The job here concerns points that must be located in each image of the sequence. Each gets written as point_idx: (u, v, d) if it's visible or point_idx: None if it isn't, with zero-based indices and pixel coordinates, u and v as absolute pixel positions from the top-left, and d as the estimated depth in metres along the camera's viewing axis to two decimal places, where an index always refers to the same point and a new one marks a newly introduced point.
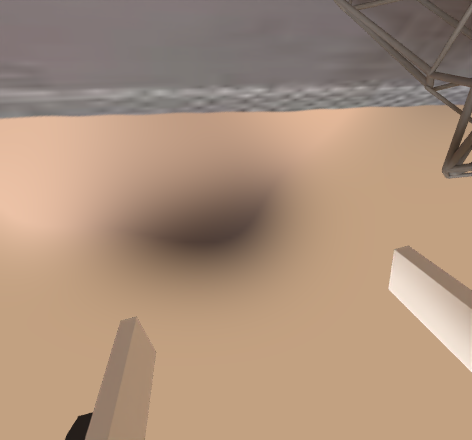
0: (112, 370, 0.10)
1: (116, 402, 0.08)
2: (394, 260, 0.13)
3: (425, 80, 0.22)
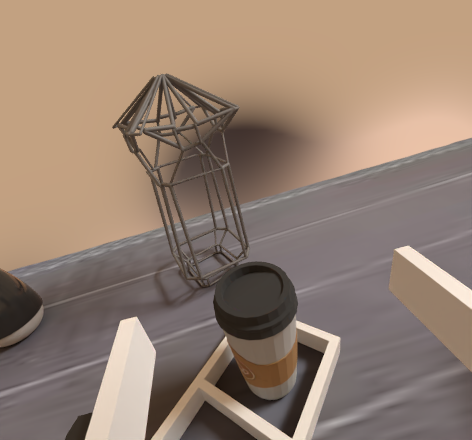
0: (112, 370, 0.10)
1: (116, 402, 0.08)
2: (394, 260, 0.13)
3: None
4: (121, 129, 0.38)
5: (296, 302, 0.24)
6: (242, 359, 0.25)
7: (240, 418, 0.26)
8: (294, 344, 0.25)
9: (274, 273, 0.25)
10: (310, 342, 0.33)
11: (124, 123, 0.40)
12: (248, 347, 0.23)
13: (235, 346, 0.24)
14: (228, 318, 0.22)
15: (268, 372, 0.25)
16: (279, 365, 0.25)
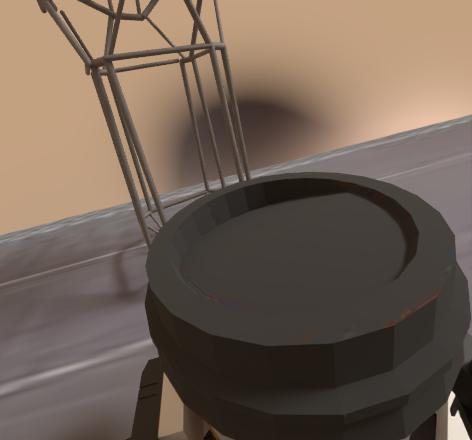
0: None
1: None
2: None
3: (184, 67, 0.29)
4: None
5: None
6: None
7: None
8: None
9: (350, 192, 0.08)
10: None
11: None
12: None
13: (219, 436, 0.07)
14: (184, 342, 0.05)
15: None
16: None
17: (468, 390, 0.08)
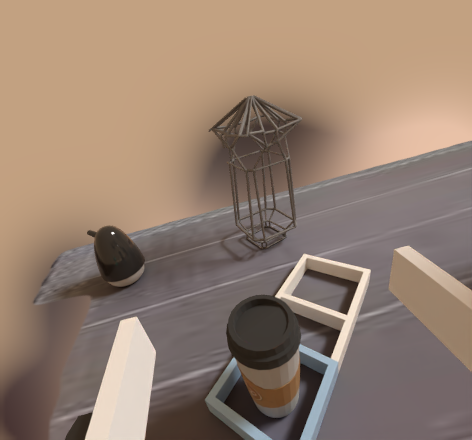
0: (112, 370, 0.10)
1: (116, 402, 0.08)
2: (394, 260, 0.13)
3: None
4: (215, 132, 0.55)
5: (299, 335, 0.27)
6: (251, 383, 0.28)
7: (312, 309, 0.42)
8: (297, 370, 0.29)
9: (280, 307, 0.29)
10: (349, 275, 0.49)
11: (215, 128, 0.57)
12: (257, 375, 0.26)
13: (245, 372, 0.27)
14: (240, 350, 0.25)
15: (274, 395, 0.28)
16: (284, 389, 0.28)
17: None
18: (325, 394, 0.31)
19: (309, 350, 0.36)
